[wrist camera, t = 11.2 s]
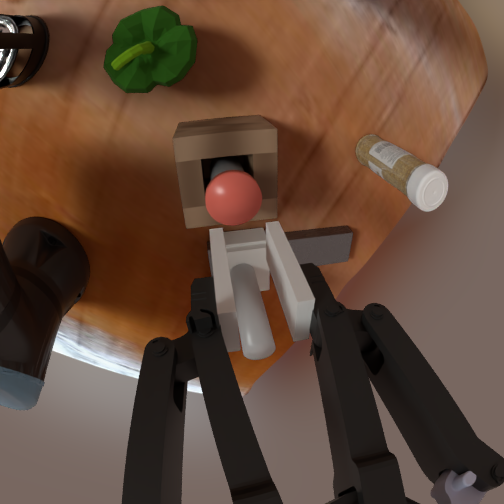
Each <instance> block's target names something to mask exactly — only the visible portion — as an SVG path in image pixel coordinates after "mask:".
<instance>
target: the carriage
mask: <svg viewBox="0 0 504 504" xmlns="http://www.w3.org/2000/svg"><path fill="white" fill-rule="evenodd" d="M223 234H224V241H225V247H226V253H227V259H228V265H229V271H230V277H231V283H232V289H233V295H234V301H235V307H236V313H237V321H238V327H239V333H240V338H241V344H242V349H243V354H244V356H245V357H246V358H248V359H252V360H259V359H264V358H266V357H268V356H270V355H272V354H273V353H274V351H275V349H276V347H275V343H274V340H273V336H272V332H271V329H270V325H269V321H268V318H267V314H266V310H265V307H264V303H263V299H262V296H261V292H260V291H265V290H269V276H270V270H269V267H268V264H267V261H266V234H265V231H264V229H263V228H255V229H246V230H238V231H229V232H223ZM210 246H211V243H210ZM211 255H212V254H211Z"/></svg>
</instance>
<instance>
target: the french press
mask: <svg viewBox="0 0 504 504" xmlns="http://www.w3.org/2000/svg"><path fill="white" fill-rule="evenodd" d="M23 25H29V26H31V27H32V31H33V34H26V33H19V29H18V27H19V26H23ZM48 47H49V31H48V28H47V25H46V23H45V22H44V21H43V20H42V19H41V18H39V17H36V16H32V15H30V16H21V15H14V16H13V15H5V14H0V89H2V88H6V87H9V88H12V87H17V86H20V85H22V84H24V83H25V82H27V81H28V80H30V79H31V78H32V77H33V76H34V75H35V74H36V72H37V71H38V70H39V68H40V67H41V65H42V64H43V61H44V59H45V57H46V54H47V51H48ZM19 49H32V51H31V54H30V57H29V60H28V62H27V64H26V66H25V67H24V69H23V71H22V72H21V73H20V75H19V76H17V77H14V78H9V77H6V75H7V73H8V72H9V71H10V69H11V67H12V65H13V63H14V61H15V59H16V56H17V53H18V50H19Z"/></svg>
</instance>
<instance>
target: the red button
mask: <svg viewBox="0 0 504 504" xmlns="http://www.w3.org/2000/svg"><path fill="white" fill-rule="evenodd" d="M210 177H211V181H210V182H209V184H208V186H207V188H206V192H205V202H206V208H207V211H208V213H209V214H210V216H211V217H212V218H213V219H214V220H216V221H217V222H219V223H221V224H224V225H231V226H233V225H240V224H243V223H246V222H248V221H249V220H251V219H252V218H253V217H254V216H255V215H256V214H257V213H258V211H259V209H260V207H261V204H262V193H261V190H260V188H259V186H258V184H257V182H256V180H255V179H254V178H253V177H252V176H251V175H249V174H248V173H246V172H244V170H243V167H242V165H241V163H240V160H239V159H238V158H237V157H236V156H225V157H216V158H213V159H212V161H211V163H210Z"/></svg>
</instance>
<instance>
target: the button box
mask: <svg viewBox="0 0 504 504" xmlns="http://www.w3.org/2000/svg"><path fill="white" fill-rule="evenodd" d="M173 146H174V153H175V161H176V168H177V175H178V181H179V188H180V194H181V201H182V207H183V213H184V219H185V224H186V229H188V228H196V227H204V226H212V225H220V224H221V223H219V222H217V221H216V220H214V219H213V218H212V217H211V216H210V214H209V213H208V211H207V208H206V202H205V192H206V188H207V186H208V184H209V182H210V181H211V177H210V163H211V161H212V159H213V158H216V157H225V156H236V157H237V158H238V159H239V160H240V163H241V165H242V167H243V170H244V172H246V173H248V174H249V175H251V176H252V177H253V178H254V179H255V180H256V182H257V184H258V186H259V188H260V190H261V193H262V204H261V207H260V209H259V211H258V213H257V214H256V215H255V216H254V217H253V218H252V219H251V220H249V221H255V220H264V219H273V218H277V128H276V127H274V126H273V125H272V124H271V123H269V122H268V121H267V120H266V119H264V118H263V117H262V116H260V115H253V116H237V117H225V118H215V119H205V120H197V121H189V122H181V123H179V124H178V126H177V129H176V131H175V134H174V136H173Z"/></svg>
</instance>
